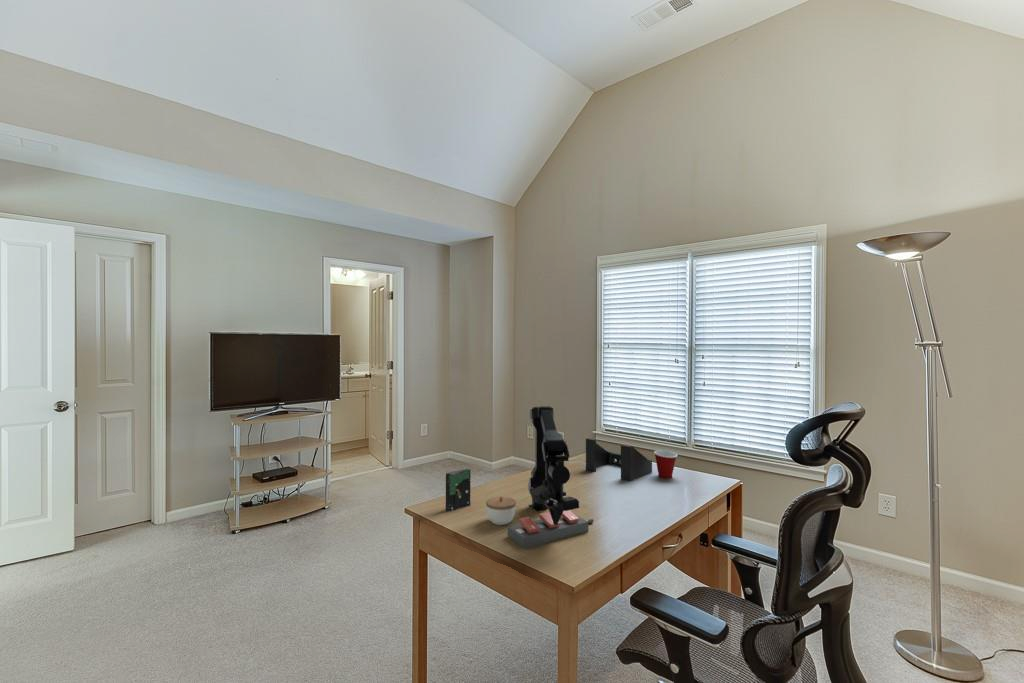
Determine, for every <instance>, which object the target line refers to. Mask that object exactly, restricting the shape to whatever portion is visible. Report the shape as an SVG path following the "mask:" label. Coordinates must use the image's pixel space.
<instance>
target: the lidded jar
mask: <svg viewBox="0 0 1024 683" xmlns="http://www.w3.org/2000/svg"><path fill="white" fill-rule="evenodd" d="M516 505H517V500H516V499H514V498H513V497H509V496H494V497H493V496H492V497H490V498H487V500H486V502H485V506H486V508H485V509H486V510H485V511H486V515H487V518H488V519H489V521H490V522H491V524H494V525H496V526H505V525H508V524H510V523H511V522H512V521H513V519H514V517H515V515H516Z"/></svg>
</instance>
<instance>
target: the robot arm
mask: <svg viewBox="0 0 1024 683" xmlns="http://www.w3.org/2000/svg"><path fill="white" fill-rule="evenodd" d="M529 419H530V420H531V423H532V426H533V427H534V430H535V433H534V435H535V436H534V443H535V444H534V450H535V451H534V454H535V455H534V456H535V457H534V458H535V459H534V467H533V468H532V470H531V471H530V477H529V480H528V485H527V489H528V490H527V491H528V492H529V494H530V496H531V504H528V507H529V508H531V509H533V510H534V511H536V512H539V511H545V510H548V512H549V513H550V514H551V517H552V520H553V523H554V525H557V524H558V522H559V519H560V517H561V515H562V513H563V511H568V510H570V511H571V510H576V509H579V508H580V501H579V500H578V498H575V497H573V496H567V492H565V491H564V484H567V483H568V482H569V480H570V478H571V472H570V470H569V469H568V468H567V466H565V462H569V460H570V459H569V458H570V451H569V448H568V445H567V442H566V441H565V440H564V438H563V435H562V434H561V433H560V432H558V430H557V427H556V422H555V419H554V407H552V406H549V405H542V406H541V405H540V406H532V408H531V409H530V410H529Z"/></svg>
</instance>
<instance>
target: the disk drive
mask: <svg viewBox="0 0 1024 683" xmlns="http://www.w3.org/2000/svg"><path fill="white" fill-rule="evenodd" d="M466 506H467V507H470V506H471V469H469V468H463V469H458V470H454V471H449V472H446V473H445V511H446V510H447V511H446V512H448V511H450V512H453V511H456V509H457V510H460V509H462V508H466ZM459 508H460V509H459ZM452 510H453V511H452Z"/></svg>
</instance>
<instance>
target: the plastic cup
mask: <svg viewBox="0 0 1024 683" xmlns="http://www.w3.org/2000/svg"><path fill="white" fill-rule="evenodd" d="M653 453H654V457H655V462H656V469H657V473H658V477H660V478H661V479H672V478H673V473H674V469H675V463H676V460H677V458H678V456H679V455H678V454H677V453H675V452H674V451H669V450H664V449H663V450H661V449H660V450H659V449H658V450H654V451H653Z"/></svg>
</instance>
